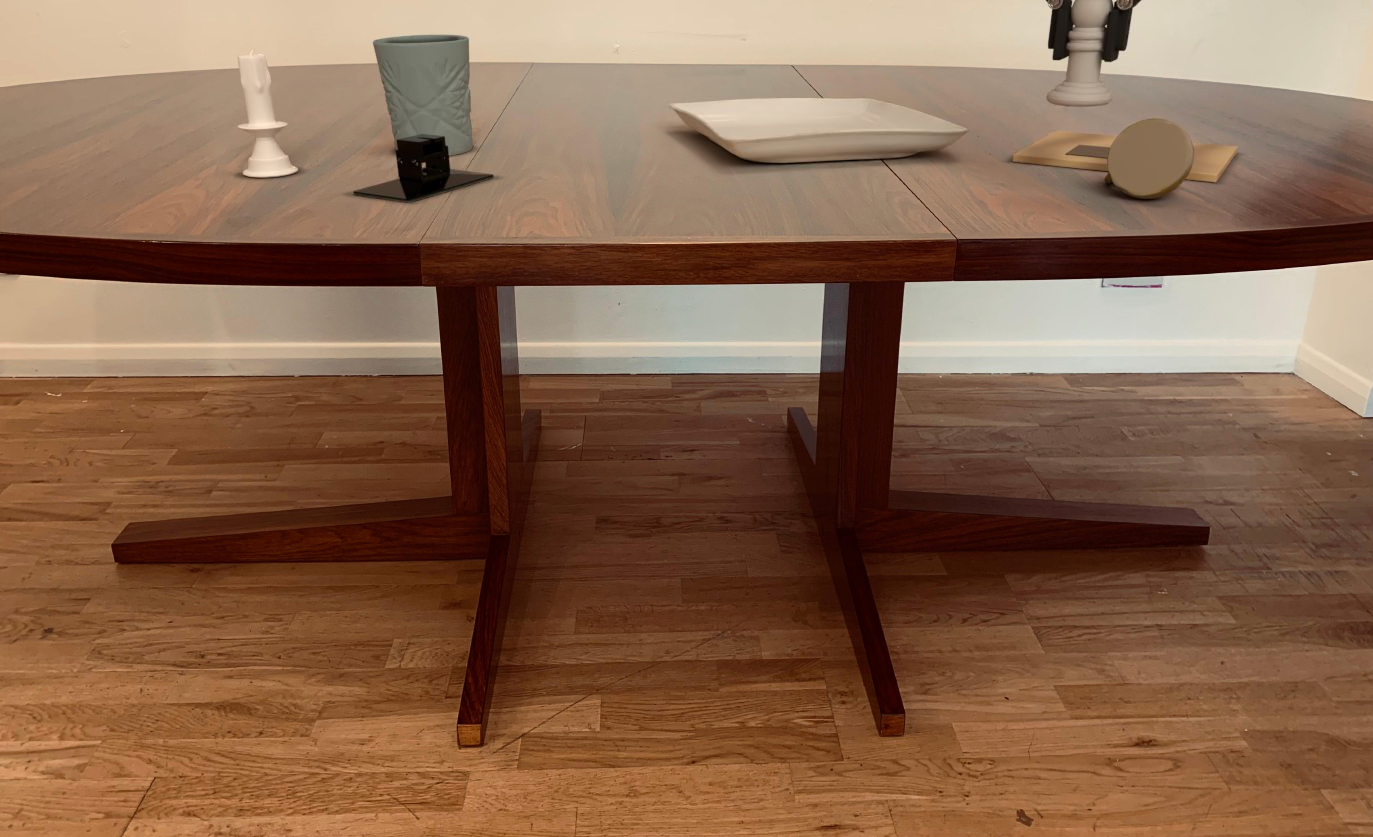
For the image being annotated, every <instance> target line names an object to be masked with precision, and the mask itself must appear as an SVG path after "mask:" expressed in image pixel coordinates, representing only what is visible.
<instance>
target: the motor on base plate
mask: <svg viewBox="0 0 1373 837" xmlns="http://www.w3.org/2000/svg"><path fill="white" fill-rule="evenodd" d="M397 148H398V150H396V149H395V159H396V166H397V175H398V178H396V179H393V180H388V181H384V182H381V183H377V184H373V185H370V186H367V187H362V188H359V189H355V190H353V192H352V193H353V195H354V196H360V197H367V198H375V199H381V200H388V201H394V202H400V203H401V202H403V203H412V202H416V201H420V200H423V199H427V198H430V197H433V196H437V195H440V194H444V193H447V192H450V191H454V190H457V189H460V188H464V187H468V186H471V185H474V184H478V183H480V182H484V181H487V180H491V179H494V177H495V175H494V173H487V172H477V171H470V170H462V169H460V170H459V169H454V168H451V162H450V156H449V152H448V146H447V145H446V143H445V136H437V135H427V134H420V135H415V136H411V137H406V138H402V139H397ZM423 164H425V167H423Z"/></svg>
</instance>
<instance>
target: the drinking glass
mask: <svg viewBox="0 0 1373 837" xmlns="http://www.w3.org/2000/svg"><path fill="white" fill-rule="evenodd" d="M372 46H373V49H374V54H375V58H376V62H377V65H378V71H379V74H380V81H381V83H382V86H383V90H384V98H385V104H386V108H387V112H388V115H389V116H390V117H389V118H390V124H391V132H392V135H393V140H394V146H395V150H398V148H397V139H402V138H406V137H411V136H415V135H420V134H427V135H437V136H445V143H446V145H447V146H448V152H449V157H450V156H456V155H462V154H464V153H468V152H470V151H472V150H473V146H474V145H473V143H474V142H473V125H472V119H471V112H472V103H471V102H472V101H471V99H472V97H471V89H470V87H469V85H470V77H471V76H470V74H471V73H470V72H471V70H470V38H469V37H468V36H465V35H460V34H415V35H414V34H413V35H401V36H400V35H399V36H390V37H383V38H377V39H374V40H373V41H372Z"/></svg>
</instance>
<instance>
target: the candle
mask: <svg viewBox="0 0 1373 837" xmlns="http://www.w3.org/2000/svg"><path fill="white" fill-rule="evenodd" d="M254 51H255V48H253V49H251V51H249V54H248V53H247V54H241V55H238V56H237V62H238V64H237V65H238V70H239V74H240V75H239V76H240V78H239V79H240V86H241V88H242V94H243V98H244V104H245V109H246V116H247V121H248V122H245V123H240V124H239V125H237V128H238V129H239V130H241V131H244V132H245V133H248V134H249V135H251V136H253V137H255V138H254V139H255V141H254V147H253V149H252V150H253V151H252V154H251V156H249V157H248V158H247V159H248V160H247V168H246V169H243V171H242V175H243V176H245V177H249V178H259V179H260V178H261V179H262V178H277V177H284V176H289V175H293V174H295V173H297V172H298V171H299V168H298V167H297V166H295V165H292V162H291V160H290V158H289V155H288V154H286V153H284V152H283V150H282V148H281V146H280V145H279V144H278V142H277V140H276V137H275V135H277V134H278V133H279V132H281V131H282V130H283V129H284V128H286V127H287V126H288V125H289V124H288V122H285V121H279V120H276V115H275V114H276V113H275V109H274V104H273V102H274V101H273V98H272V90H271V89H272V84H273V80H272V76H271V73H270V70H269V67H268V62H267V58H266V56H265V54H264V53H257V54H256V53H255V54H254V53H253V52H254Z"/></svg>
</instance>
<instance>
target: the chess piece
mask: <svg viewBox="0 0 1373 837" xmlns="http://www.w3.org/2000/svg"><path fill="white" fill-rule="evenodd" d="M1113 8H1114V2H1113V0H1074V1H1073V2H1072V9H1071V19H1072V22H1073V24H1074V25H1073V28H1072V31H1069V32H1068V34H1067V37H1068V38H1069V42H1068V43H1067V44H1066V48H1067V49H1068V50H1069V56H1068V57H1067V67H1066V75H1065V80H1063V81H1062V82H1061V83H1060V84H1057V85H1056V86H1055V87H1054V88H1053V89H1051V90H1049V91H1048V92H1047V94H1046V101H1047V102H1048V104H1051V105H1055V106H1060V107H1070V108H1071V107H1074V108H1090V107H1093V108H1094V107H1101V106H1106V105H1108V104H1110V103H1111V102H1112V100H1113V98H1114V97H1113V93H1112V92H1111V91H1110V90H1108V87H1106V85H1104V84H1103V82H1102V80H1100V78H1101V70H1102V63H1103V60H1102V55H1103V48H1104V41H1105V34H1106V27H1107V20H1108V14H1109V12H1110V11H1111V10H1113Z"/></svg>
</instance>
